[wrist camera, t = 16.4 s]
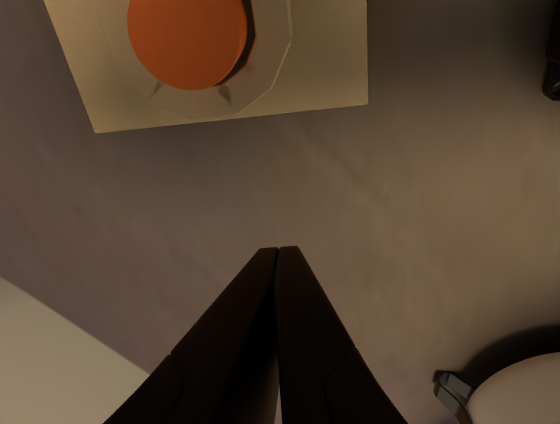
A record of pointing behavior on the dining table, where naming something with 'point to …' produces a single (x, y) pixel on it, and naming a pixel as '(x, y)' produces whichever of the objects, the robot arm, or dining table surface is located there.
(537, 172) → the dining table surface
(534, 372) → the coffee press
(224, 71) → the button
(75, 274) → the dining table surface
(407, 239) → the dining table surface
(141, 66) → the panel
